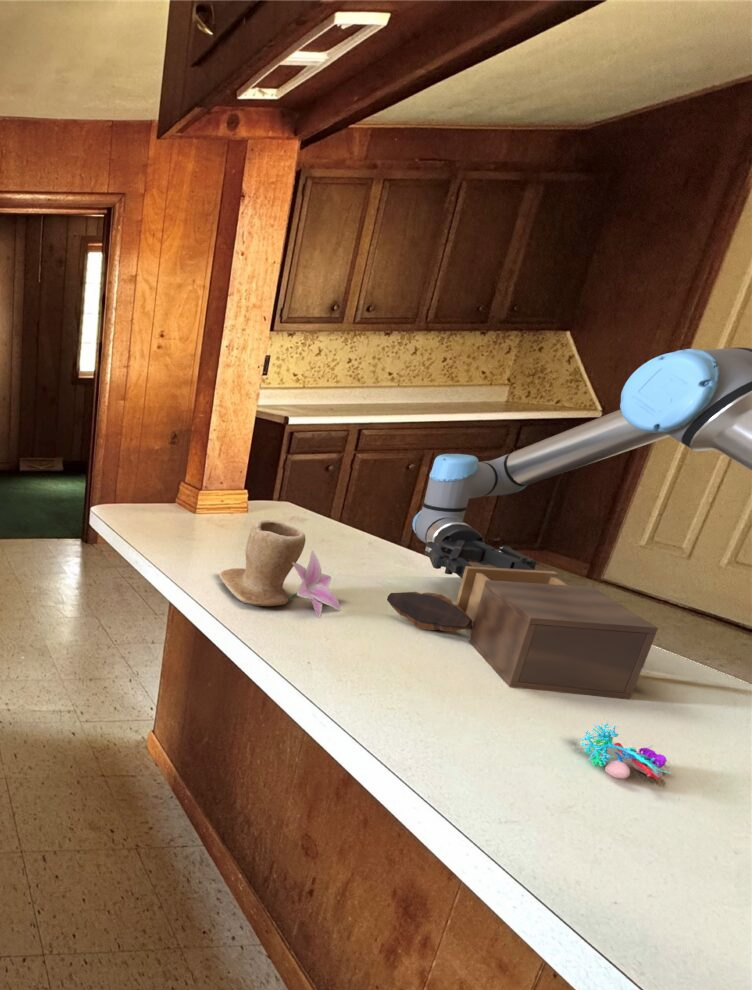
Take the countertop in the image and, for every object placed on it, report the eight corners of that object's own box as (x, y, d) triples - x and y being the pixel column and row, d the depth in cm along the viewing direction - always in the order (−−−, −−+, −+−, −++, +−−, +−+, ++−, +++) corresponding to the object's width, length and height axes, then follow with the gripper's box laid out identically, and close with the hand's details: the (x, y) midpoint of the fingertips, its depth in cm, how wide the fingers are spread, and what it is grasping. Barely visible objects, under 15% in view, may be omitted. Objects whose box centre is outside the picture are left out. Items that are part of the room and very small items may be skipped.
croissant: (396, 577, 117) (407, 586, 120) (375, 610, 118) (386, 619, 121) (481, 603, 106) (490, 613, 109) (457, 640, 107) (467, 649, 110)
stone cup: (304, 611, 122) (317, 533, 117) (237, 610, 124) (247, 533, 118) (277, 583, 136) (287, 512, 131) (217, 582, 138) (225, 512, 132)
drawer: (441, 601, 122) (453, 555, 119) (524, 607, 118) (538, 560, 115) (485, 648, 104) (500, 596, 101) (584, 657, 100) (603, 603, 97)
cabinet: (468, 641, 109) (485, 579, 105) (571, 650, 104) (593, 586, 100) (509, 686, 95) (530, 617, 91) (630, 699, 90) (658, 627, 87)
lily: (280, 624, 120) (316, 587, 114) (254, 580, 128) (286, 543, 122) (331, 635, 123) (369, 600, 117) (303, 592, 132) (336, 556, 125)
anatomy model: (708, 764, 70) (666, 723, 76) (615, 754, 72) (581, 716, 78) (686, 799, 72) (647, 757, 78) (597, 789, 75) (565, 749, 80)
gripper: (511, 562, 132) (569, 603, 112) (391, 555, 138) (426, 593, 118) (522, 526, 129) (583, 562, 109) (399, 520, 136) (436, 553, 116)
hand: (501, 578), depth 114 cm, fingers closed on drawer, 8 cm apart
